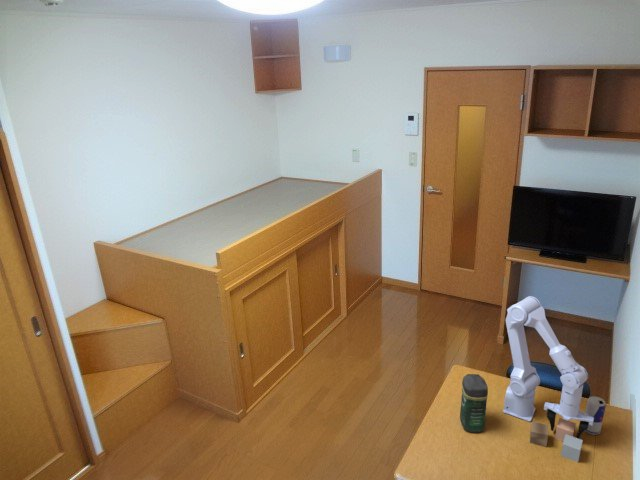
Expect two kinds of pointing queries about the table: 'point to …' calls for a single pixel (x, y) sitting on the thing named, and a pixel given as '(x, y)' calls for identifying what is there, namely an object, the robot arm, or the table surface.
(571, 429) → the terracotta block
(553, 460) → the table surface
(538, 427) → the walnut block
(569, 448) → the slate block
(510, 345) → the robot arm
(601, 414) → the energy drink
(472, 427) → the coffee jar
